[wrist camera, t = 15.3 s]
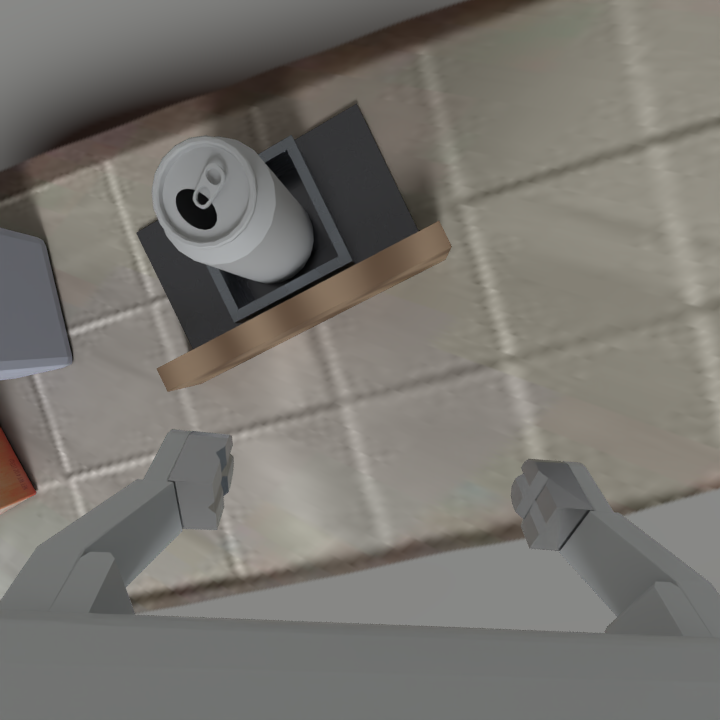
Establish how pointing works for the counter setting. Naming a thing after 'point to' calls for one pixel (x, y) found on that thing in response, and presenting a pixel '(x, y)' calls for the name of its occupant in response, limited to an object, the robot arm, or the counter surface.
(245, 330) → the wooden plank
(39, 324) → the soap bottle
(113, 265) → the counter surface
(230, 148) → the can
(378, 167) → the socket
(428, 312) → the counter surface
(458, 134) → the counter surface
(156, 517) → the robot arm
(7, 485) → the cracker box
